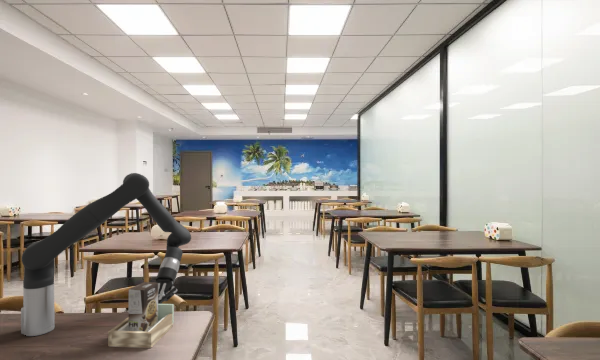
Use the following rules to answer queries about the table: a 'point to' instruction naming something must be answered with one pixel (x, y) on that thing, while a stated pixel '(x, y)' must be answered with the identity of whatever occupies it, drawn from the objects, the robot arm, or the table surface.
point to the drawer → (162, 313)
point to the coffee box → (143, 307)
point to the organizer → (139, 335)
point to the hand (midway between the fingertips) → (155, 310)
